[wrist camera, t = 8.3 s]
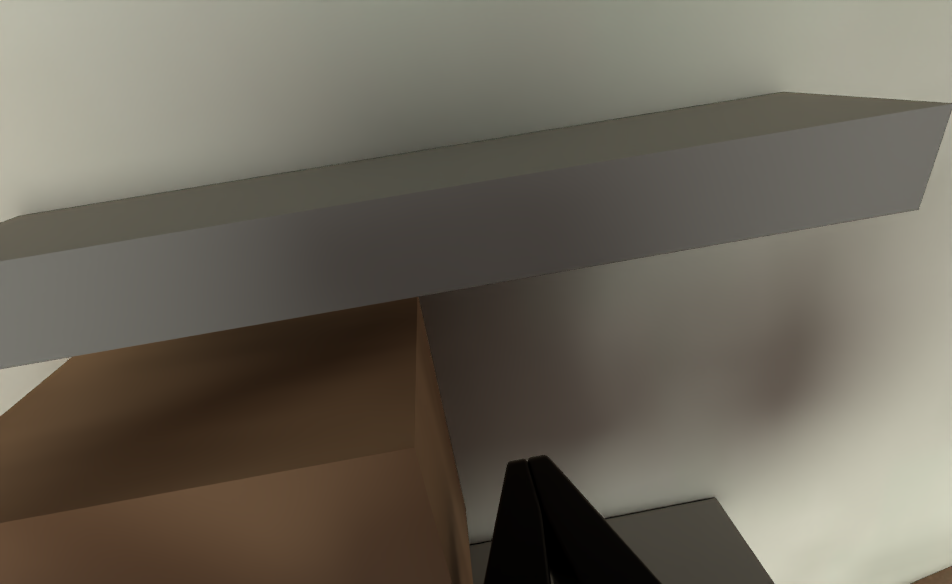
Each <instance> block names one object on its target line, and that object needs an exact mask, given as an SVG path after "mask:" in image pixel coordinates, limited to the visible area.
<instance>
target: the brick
mask: <svg viewBox="0 0 952 584" xmlns="http://www.w3.org/2000/svg"><path fill="white" fill-rule="evenodd" d="M911 584H952V566H951V567H948V568H946V569H944V570H941V571H939V572H937V573H934V574H932V575H930V576H927V577H925V578H922V579H920V580H918V581H916V582H913V583H911Z"/></svg>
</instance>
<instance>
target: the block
mask: <svg viewBox="0 0 952 584" xmlns="http://www.w3.org/2000/svg"><path fill="white" fill-rule="evenodd" d="M0 584H473V578H472V567H471V557H470V547H469V537H468V527H467V517H466V508H465V504H464V499H463V495H462V490H461V486H460V481H459V477H458V472H457V468H456V463H455V459H454V454H453V450H452V445H451V441H450V436H449V432H448V427H447V423H446V418H445V414H444V409H443V405H442V400H441V396H440V391H439V387H438V382H437V378H436V373H435V369H434V364H433V360H432V355H431V351H430V346H429V342H428V337H427V333H426V328H425V324H424V319H423V315H422V310H421V306H420V301H419V297H413V298H407V299H401V300H395V301H390V302H384V303H378V304H372V305H367V306H361V307H355V308H349V309H344V310H338V311H332V312H326V313H321V314H315V315H309V316H303V317H298V318H292V319H286V320H280V321H275V322H269V323H263V324H257V325H252V326H246V327H240V328H234V329H229V330H223V331H217V332H211V333H206V334H200V335H194V336H188V337H183V338H177V339H171V340H165V341H160V342H154V343H148V344H142V345H137V346H131V347H125V348H119V349H114V350H108V351H102V352H96V353H91V354H85V355H79V356H73V357H71V358H70V359H69V360H68V361H67V362H65V363H64V364H63V365H62V366H61V367H59V368H58V369H57V370H56V371H55V372H53V373H52V374H51V375H50V376H49V377H47V378H46V379H45V380H44V381H43V382H41V383H40V384H39V385H38V386H37V387H35V388H34V389H33V390H32V391H31V392H29V393H28V394H27V395H26V396H25V397H23V398H22V399H21V400H20V401H19V402H17V403H16V404H15V405H14V406H13V407H11V408H10V409H9V410H8V411H7V412H5V413H4V414H3V415H2V416H1V417H0Z"/></svg>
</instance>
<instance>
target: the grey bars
mask: <svg viewBox="0 0 952 584" xmlns="http://www.w3.org/2000/svg"><path fill="white" fill-rule="evenodd" d="M951 111H952V103H941V102H926V101H911V100H896V99H881V98H867V97H852V96H837V95H822V94H807V93H793V92H780V93H773V94H767V95H761V96H755V97H749V98H743V99H736V100H730V101H724V102H718V103H712V104H706V105H699V106H693V107H687V108H681V109H675V110H669V111H663V112H656V113H650V114H644V115H638V116H632V117H626V118H619V119H613V120H607V121H601V122H595V123H589V124H582V125H576V126H570V127H564V128H558V129H552V130H546V131H539V132H533V133H527V134H521V135H515V136H509V137H502V138H496V139H490V140H484V141H478V142H472V143H465V144H459V145H453V146H447V147H441V148H435V149H428V150H422V151H416V152H410V153H404V154H398V155H392V156H385V157H379V158H373V159H367V160H361V161H355V162H348V163H342V164H336V165H330V166H324V167H318V168H311V169H305V170H299V171H293V172H287V173H281V174H275V175H268V176H262V177H256V178H250V179H244V180H238V181H231V182H225V183H219V184H213V185H207V186H201V187H194V188H188V189H182V190H176V191H170V192H164V193H158V194H151V195H145V196H139V197H133V198H127V199H121V200H114V201H108V202H102V203H96V204H90V205H84V206H77V207H71V208H65V209H59V210H53V211H47V212H41V213H34V214H28V215H22V216H17V217H15V218H12V219H9V220H7V221H4V222H1V223H0V369H4V368H10V367H16V366H22V365H27V364H33V363H39V362H45V361H50V360H56V359H62V358H68V357H73V356H79V355H85V354H91V353H96V352H102V351H108V350H114V349H119V348H125V347H131V346H137V345H142V344H148V343H154V342H160V341H165V340H171V339H177V338H183V337H188V336H194V335H200V334H206V333H211V332H217V331H223V330H229V329H234V328H240V327H246V326H252V325H257V324H263V323H269V322H275V321H280V320H286V319H292V318H298V317H303V316H309V315H315V314H321V313H326V312H332V311H338V310H344V309H349V308H355V307H361V306H367V305H372V304H378V303H384V302H390V301H395V300H401V299H407V298H413V297H419V296H424V295H430V294H436V293H442V292H447V291H453V290H459V289H465V288H470V287H476V286H482V285H488V284H493V283H499V282H505V281H511V280H516V279H522V278H528V277H534V276H539V275H545V274H551V273H557V272H562V271H568V270H574V269H580V268H585V267H591V266H597V265H603V264H608V263H614V262H620V261H626V260H631V259H637V258H643V257H649V256H654V255H660V254H666V253H672V252H677V251H683V250H689V249H695V248H700V247H706V246H712V245H718V244H723V243H729V242H735V241H741V240H746V239H752V238H758V237H764V236H769V235H775V234H781V233H787V232H792V231H798V230H804V229H810V228H815V227H821V226H827V225H833V224H838V223H844V222H850V221H856V220H861V219H867V218H873V217H879V216H884V215H890V214H896V213H902V212H907V211H913V210H919V207H920V204H921V201H922V198H923V195H924V192H925V189H926V186H927V183H928V180H929V177H930V174H931V171H932V168H933V165H934V162H935V159H936V156H937V153H938V150H939V147H940V144H941V141H942V138H943V135H944V132H945V129H946V126H947V123H948V120H949V117H950V114H951ZM605 520H606V521H607V523H608V524H609V525H610V526H611V527H612V528H613V529H614V530H615V531H616V533H617V534H618V535H619V536H620V537H621V538H622V539H623V540H624V541H625V543H626V544H627V545H628V546H629V547H630V548H631V549H632V550H633V552H634V553H635V554H636V555H637V556H638V557H639V558H640V559H641V560H642V562H643V563H644V564H645V565H646V566H647V567H648V568H649V569H650V570H651V572H652V573H653V574H654V575H655V576H656V577H657V578H658V579H659V580H660V582H661V583H662V584H774V582H773V581H772V579H771V578H770V576H769V575H768V573H767V572H766V570H765V569H764V568H763V566H762V565H761V563H760V562H759V560H758V559H757V557H756V556H755V554H754V553H753V551H752V550H751V549H750V547H749V546H748V544H747V543H746V541H745V540H744V538H743V537H742V535H741V534H740V533H739V531H738V530H737V528H736V527H735V525H734V524H733V522H732V521H731V519H730V518H729V516H728V515H727V514H726V512H725V511H724V509H723V508H722V506H721V505H720V503H719V502H718V500H717V499H716V498H713V499H708V500H703V501H698V502H692V503H687V504H682V505H677V506H672V507H667V508H662V509H656V510H651V511H646V512H641V513H636V514H631V515H626V516H620V517H615V518H610V519H605ZM491 543H492V542H487V543H481V544H476V545H471V546H469V547H470V557H471V567H472V578H473V584H483V583H484V578H485V573H486V568H487V563H488V558H489V553H490V548H491ZM550 577H551V574H550ZM551 584H553V581H552V577H551Z"/></svg>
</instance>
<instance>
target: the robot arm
mask: <svg viewBox="0 0 952 584" xmlns="http://www.w3.org/2000/svg"><path fill="white" fill-rule="evenodd" d="M550 574H551V577H552V581H553V584H662V583H661V582H660V580H659V579H658V578H657V577H656V576H655V575H654V574H653V573H652V572H651V570H650V569H649V568H648V567H647V566H646V565H645V564H644V563H643V562H642V560H641V559H640V558H639V557H638V556H637V555H636V554H635V553H634V552H633V550H632V549H631V548H630V547H629V546H628V545H627V544H626V543H625V541H624V540H623V539H622V538H621V537H620V536H619V535H618V534H617V533H616V531H615V530H614V529H613V528H612V527H611V526H610V525H609V524H608V523H607V521H606V520H605V519H604V518H603V517H602V516H601V515H600V514H599V513H598V511H597V510H596V509H595V508H594V507H593V506H592V505H591V504H590V503H589V501H588V500H587V499H586V498H585V497H584V496H583V495H582V494H581V492H580V491H579V490H578V489H577V488H576V487H575V486H574V485H573V484H572V482H571V481H570V480H569V479H568V478H567V477H566V476H565V475H564V474H563V472H562V471H561V470H560V469H559V468H558V467H557V466H556V465H555V464H554V462H553V461H552V460H551V459H550V458H549V457H548V456H546V455H541V456H536V457H531V458H529V459H528V462H527V460H526V459H520V460H514V461H510V462H508V464H507V467H506V472H505V477H504V482H503V487H502V492H501V497H500V502H499V507H498V512H497V517H496V522H495V527H494V533H493V538H492V543H491V548H490V553H489V558H488V563H487V568H486V573H485V578H484V583H483V584H551V577H550Z"/></svg>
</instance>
